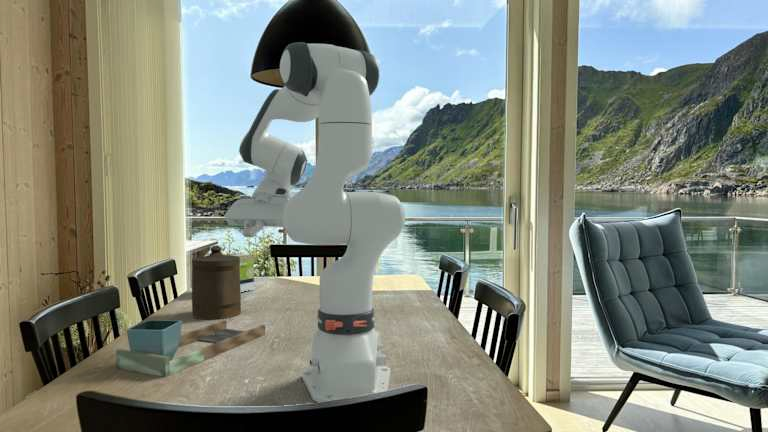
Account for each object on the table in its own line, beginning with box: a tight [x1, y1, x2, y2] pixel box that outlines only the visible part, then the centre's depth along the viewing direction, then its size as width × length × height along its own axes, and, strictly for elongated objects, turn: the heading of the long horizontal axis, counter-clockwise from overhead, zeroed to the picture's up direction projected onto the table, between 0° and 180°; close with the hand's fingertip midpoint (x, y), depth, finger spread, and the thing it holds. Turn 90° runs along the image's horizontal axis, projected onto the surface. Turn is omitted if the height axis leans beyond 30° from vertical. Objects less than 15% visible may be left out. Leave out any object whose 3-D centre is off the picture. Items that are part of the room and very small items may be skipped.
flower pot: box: [126, 319, 183, 361], centre depth 121 cm, size 9×9×9 cm
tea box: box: [223, 252, 255, 293], centre depth 205 cm, size 15×10×15 cm, turn 150°
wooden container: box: [191, 245, 242, 320], centre depth 169 cm, size 15×15×22 cm
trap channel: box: [115, 320, 266, 378], centre depth 131 cm, size 36×14×4 cm, turn 157°
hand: (247, 235), depth 141 cm, fingers closed
